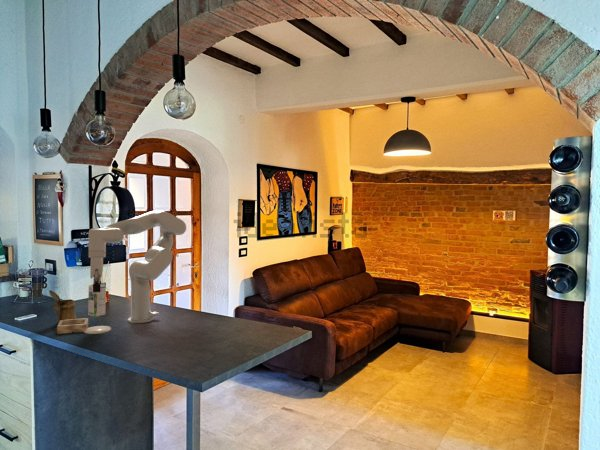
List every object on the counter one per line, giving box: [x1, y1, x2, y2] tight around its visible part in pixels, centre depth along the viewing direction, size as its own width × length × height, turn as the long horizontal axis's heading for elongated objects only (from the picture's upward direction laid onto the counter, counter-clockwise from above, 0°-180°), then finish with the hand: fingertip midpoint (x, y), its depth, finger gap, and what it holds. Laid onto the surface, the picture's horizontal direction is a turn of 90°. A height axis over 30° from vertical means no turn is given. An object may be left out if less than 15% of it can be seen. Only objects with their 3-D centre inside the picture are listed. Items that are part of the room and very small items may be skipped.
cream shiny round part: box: [83, 325, 112, 335], centre depth 211 cm, size 12×12×1 cm
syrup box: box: [87, 284, 107, 317], centre depth 210 cm, size 6×6×14 cm
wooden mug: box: [49, 289, 78, 325], centre depth 222 cm, size 9×14×18 cm, turn 149°
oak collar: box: [56, 317, 89, 335], centre depth 212 cm, size 12×12×4 cm
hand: (97, 290), depth 210 cm, fingers closed on syrup box, 8 cm apart
